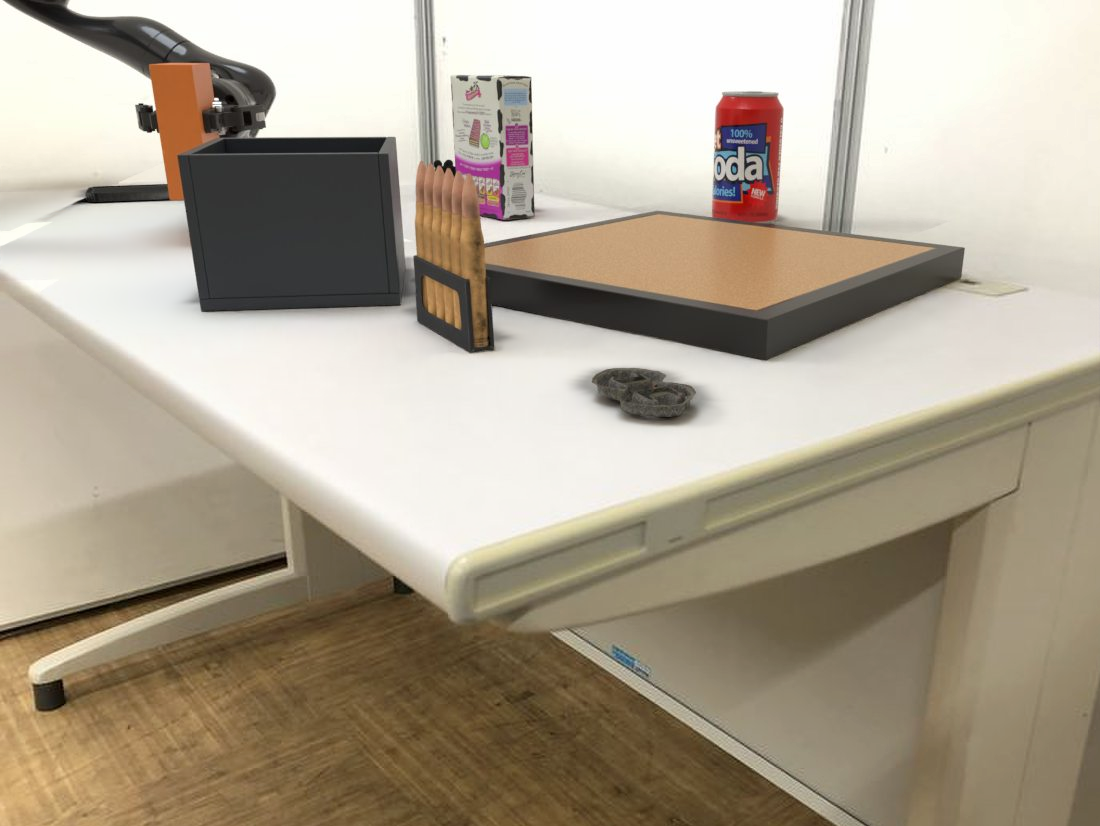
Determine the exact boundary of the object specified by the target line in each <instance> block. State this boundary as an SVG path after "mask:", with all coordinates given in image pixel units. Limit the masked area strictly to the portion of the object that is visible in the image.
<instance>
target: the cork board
mask: <svg viewBox="0 0 1100 826" xmlns="http://www.w3.org/2000/svg"><path fill="white" fill-rule="evenodd" d="M484 248H485V268H486V276H488V277H490V284H491V300H492V306H496V307H497V306H498V307H503V308H508V309H512V310H517V311H522V312H527V313H531V314H532V313H533V314H537V315H541V316H546V317H552V318H556V319H561V320H567V321H570V322H575V323H582V324H585V325H590V326H591V325H592V326H596V327H601V328H606V329H609V330H616V331H621V332H625V333H631V334H636V335H640V336H645V337H650V338H655V339H660V340H664V341H670V342H675V343H680V344H686V345H689V346H694V347H699V348H704V349H708V350H709V349H710V350H714V351H719V352H724V353H729V354H734V355H739V356H743V357H749V358H753V359H758V360H763V361H767V360H769V359H772V358H774V357H777V356H779V355H781V354H783V353H786V352H788V351H790V350H793V349H795V348H797V347H801V346H803V345H805V344H807V343H809V342H812V341H814V340H817V339H820V338H821V337H824V336H826V335H828V334H831V333H834V332H836V331H838V330H840V329H843V328H845V327H848V326H850V325H852V324H855V323H858V322H859V321H862V320H864V319H867V318H868V317H869V318H870V317H871V316H874V315H876V314H878V313H881V312H884V311H886V310H888V309H890V308H893V307H896V306H898V305H900V304H903V303H905V302H907V301H910V300H913V299H915V298H917V297H919V296H921V295H924V294H926V293H928V292H931V291H933V290H936V289H938V288H940V287H943V286H945V285H948V284H950V283H953V282H955V281H957V280H960V279H962V275H963V267H964V259H965V250H966V247H963V246H956V245H947V244H938V243H931V242H922V241H914V240H905V239H898V238H888V237H880V236H872V235H863V234H857V233H855V234H854V233H846V232H839V231H831V230H824V229H823V230H821V229H815V228H805V227H797V226H789V225H779V224H772V223H770V224H765V223H756V222H748V221H740V220H731V219H723V218H715V217H712V216H705V215H698V214H697V215H696V214H689V213H681V212H671V211H663V210H653V211H648V212H642V213H637V214H632V215H627V216H622V217H616V218H610V219H605V220H600V221H595V222H590V223H585V224H580V225H579V224H578V225H574V226H569V227H563V228H558V229H553V230H548V231H541V232H537V233H533V234H526V235H521V236H516V237H512V238H506V239H500V240H495V241H489V242H484Z"/></svg>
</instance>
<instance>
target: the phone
mask: <svg viewBox="0 0 1100 826" xmlns="http://www.w3.org/2000/svg"><path fill="white" fill-rule="evenodd" d="M84 193H85V198H86V202H87V203H102V202H131V201H133V202H134V201H156V200H158V201H159V200H170V198H169V192H168V185H167V183H156V184H155V183H154V184H128V185H126V184H125V185H98V186H97V185H95V186H89V187H88V188H87V189H86V191H85V192H84Z"/></svg>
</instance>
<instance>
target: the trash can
mask: <svg viewBox="0 0 1100 826" xmlns="http://www.w3.org/2000/svg"><path fill="white" fill-rule="evenodd" d="M396 138H397V137H396V136H304V137H303V136H297V137H296V136H287V137H286V136H284V137H280V136H279V137H278V136H277V137H269V136H267V137H266V136H265V137H256V138H215V139H213V140H211V141H208V142H206V143H204V144H202V145H199V146H197V147H195V148H192V149H190V150H188V151H186V152H183V153H181V154H179V155H177V157H178V164H179V170H180V177H181V184H182V190H183V197H184V200H183V203H184V209H185V214H186V222H187V229H188V236H189V242H190V248H191V255H192V261H193V268H194V275H195V281H196V287H197V288H196V289H197V294H198V295H197V296H198V300H199V306H200V311H201V312H219V311H250V310H281V309H282V310H284V309H285V310H286V309H315V308H319V309H320V308H348V307H349V308H350V307H377V306H379V307H380V306H381V307H382V306H383V307H384V306H400V305H401V303H402V295H403V289H404V281H405V277H406V276H405V275H406V257H405V256H406V253H405V239H404V228H403V215H402V202H401V201H402V200H401V189H400V187H401V186H400V176H399V162H398V148H397V139H396Z"/></svg>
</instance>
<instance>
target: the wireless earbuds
mask: <svg viewBox="0 0 1100 826" xmlns="http://www.w3.org/2000/svg"><path fill="white" fill-rule="evenodd" d="M438 166H441V167H442V169H443V172H444V174H445V172H446V170H447V168H450V169H451V171H452V173H453V176H454V177H455V174H456V173H455V165H454V161H453V160H452V159H446V160H445V161H444V162H442V161H441V160H440V159H436V160H434V161H433V167H434V169H435V172H436V169H437V167H438Z"/></svg>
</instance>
